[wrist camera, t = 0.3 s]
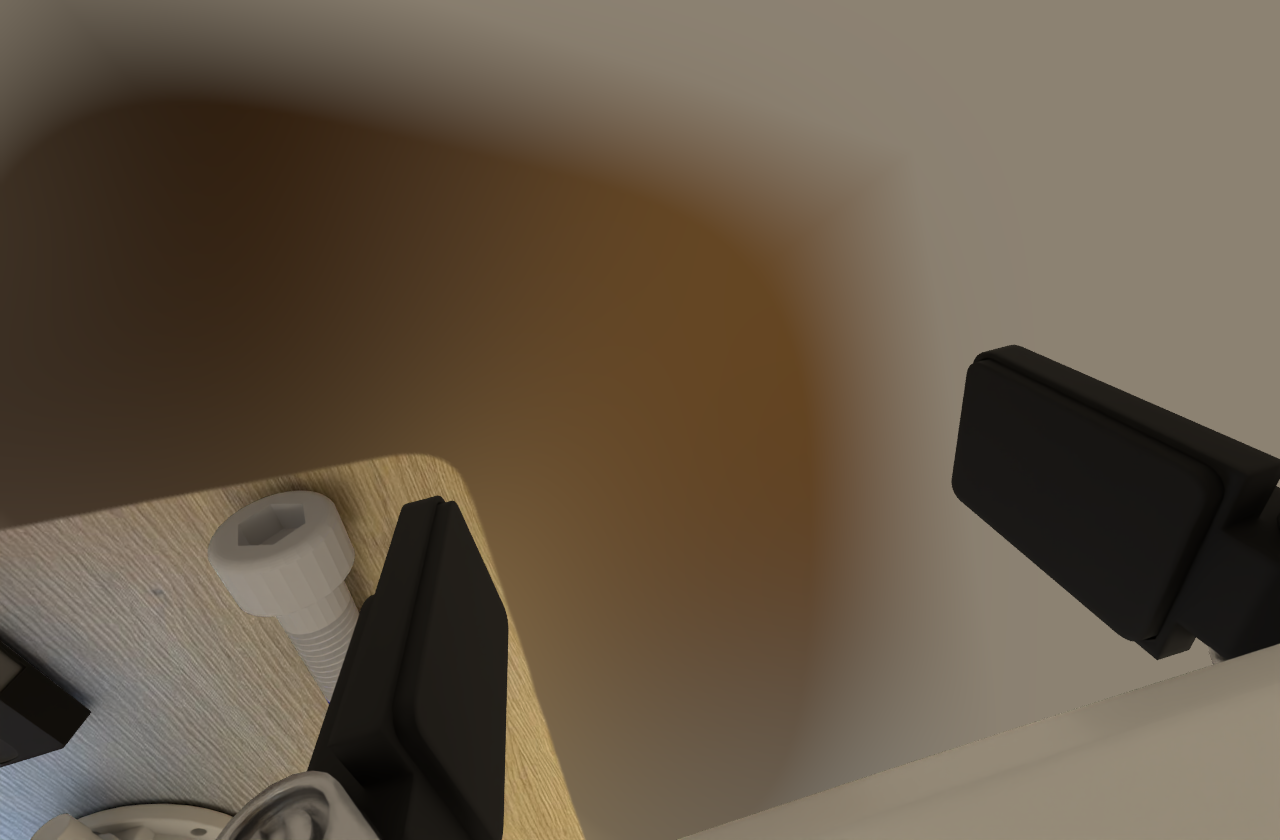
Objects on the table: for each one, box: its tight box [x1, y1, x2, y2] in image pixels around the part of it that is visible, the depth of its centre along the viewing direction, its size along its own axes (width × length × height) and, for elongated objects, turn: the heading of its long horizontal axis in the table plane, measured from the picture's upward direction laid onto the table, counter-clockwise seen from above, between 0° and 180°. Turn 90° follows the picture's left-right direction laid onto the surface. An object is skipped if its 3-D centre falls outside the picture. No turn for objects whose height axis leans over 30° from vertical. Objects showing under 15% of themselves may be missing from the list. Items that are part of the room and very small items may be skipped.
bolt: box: [208, 490, 360, 704], centre depth 28 cm, size 16×5×5 cm, turn 1°
